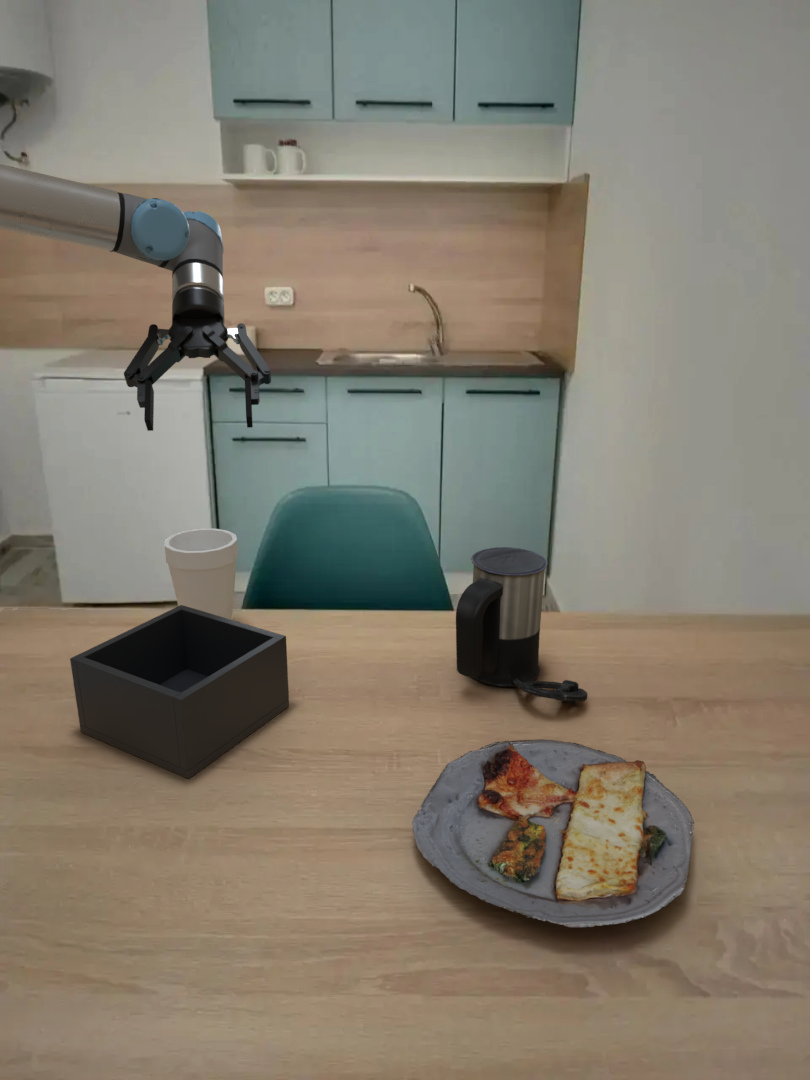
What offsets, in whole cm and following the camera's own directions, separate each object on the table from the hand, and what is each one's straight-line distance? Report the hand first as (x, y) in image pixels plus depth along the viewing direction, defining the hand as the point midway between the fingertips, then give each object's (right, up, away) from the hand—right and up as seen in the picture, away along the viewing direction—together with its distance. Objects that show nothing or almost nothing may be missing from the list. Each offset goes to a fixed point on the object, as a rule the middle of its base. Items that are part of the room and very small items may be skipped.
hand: (199, 424), depth 115 cm
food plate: (+42, -43, -40) cm, 72 cm away
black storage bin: (+4, -36, -22) cm, 43 cm away
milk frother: (+43, -34, -14) cm, 56 cm away
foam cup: (+1, -29, -1) cm, 29 cm away
